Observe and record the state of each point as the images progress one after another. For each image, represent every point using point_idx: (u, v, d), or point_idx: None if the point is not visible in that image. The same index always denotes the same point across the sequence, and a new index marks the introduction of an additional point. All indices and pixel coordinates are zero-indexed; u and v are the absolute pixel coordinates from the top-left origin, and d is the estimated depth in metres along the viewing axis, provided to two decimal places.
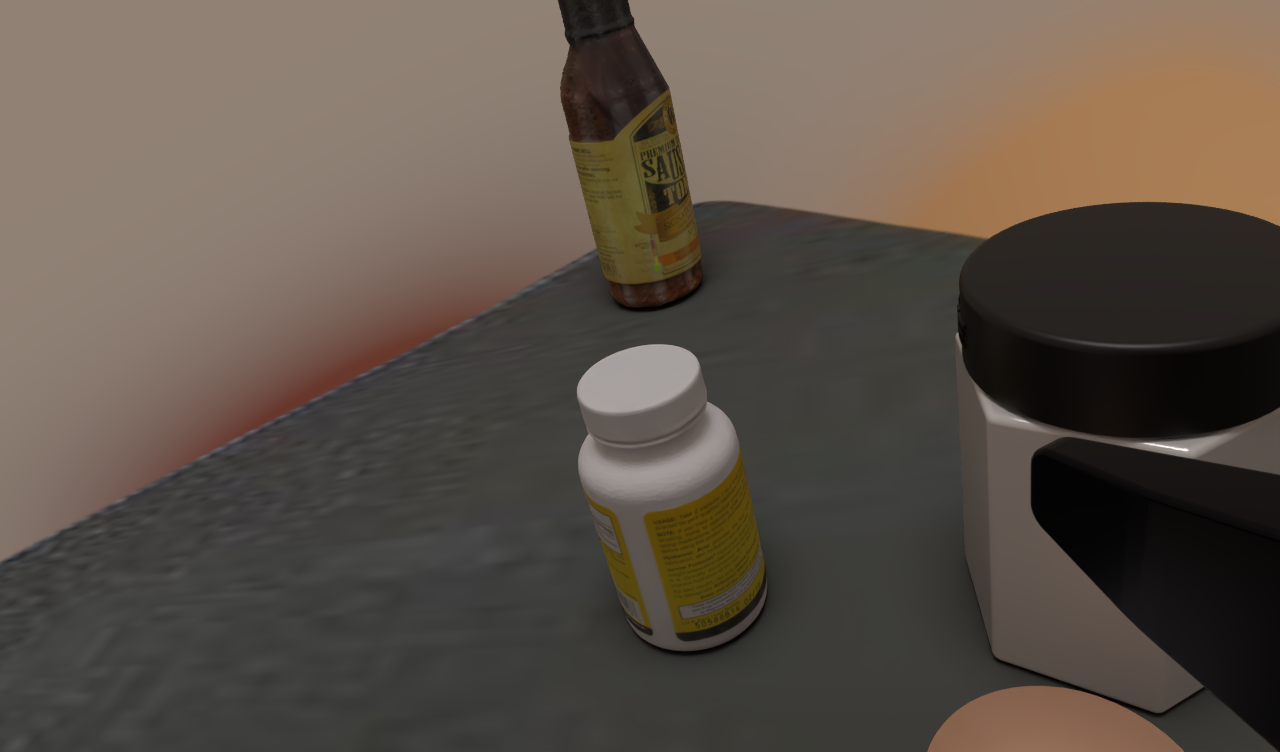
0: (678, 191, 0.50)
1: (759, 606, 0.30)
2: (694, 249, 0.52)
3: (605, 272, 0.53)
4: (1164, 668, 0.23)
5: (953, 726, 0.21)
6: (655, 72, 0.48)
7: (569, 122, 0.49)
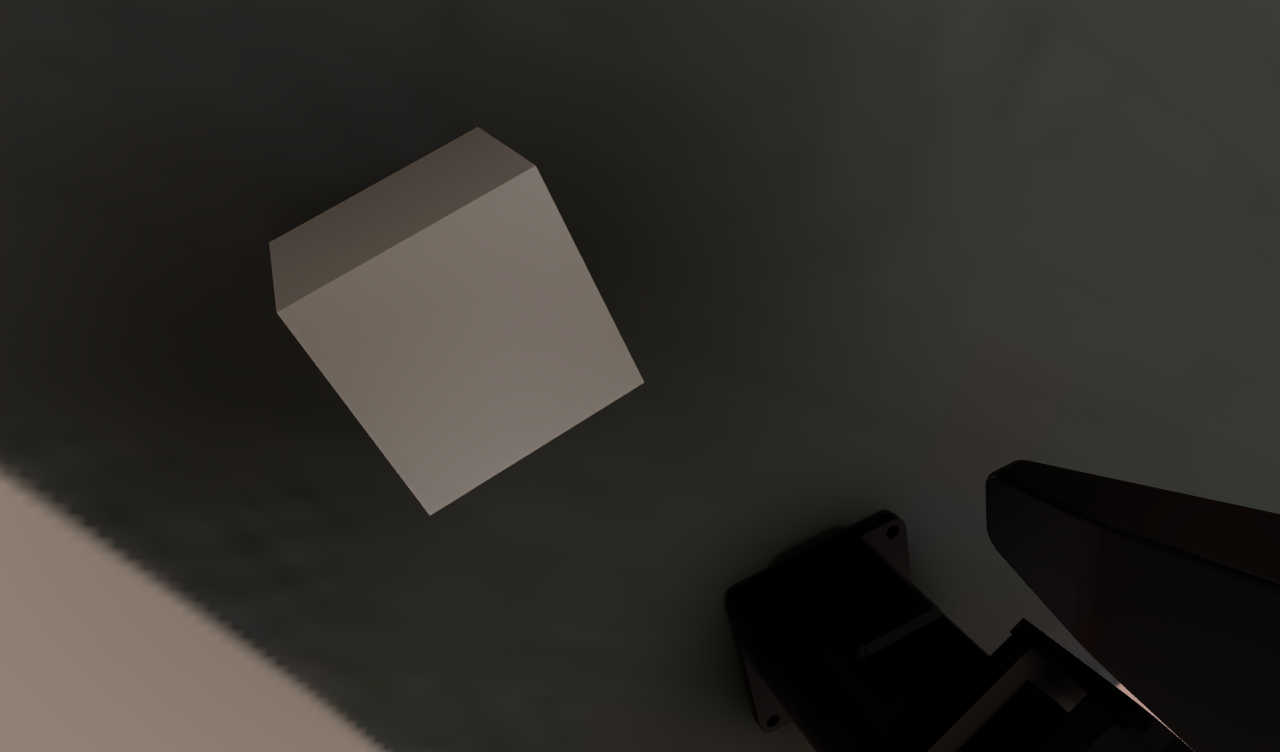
0: None
1: None
2: None
3: None
4: None
5: None
6: None
7: None
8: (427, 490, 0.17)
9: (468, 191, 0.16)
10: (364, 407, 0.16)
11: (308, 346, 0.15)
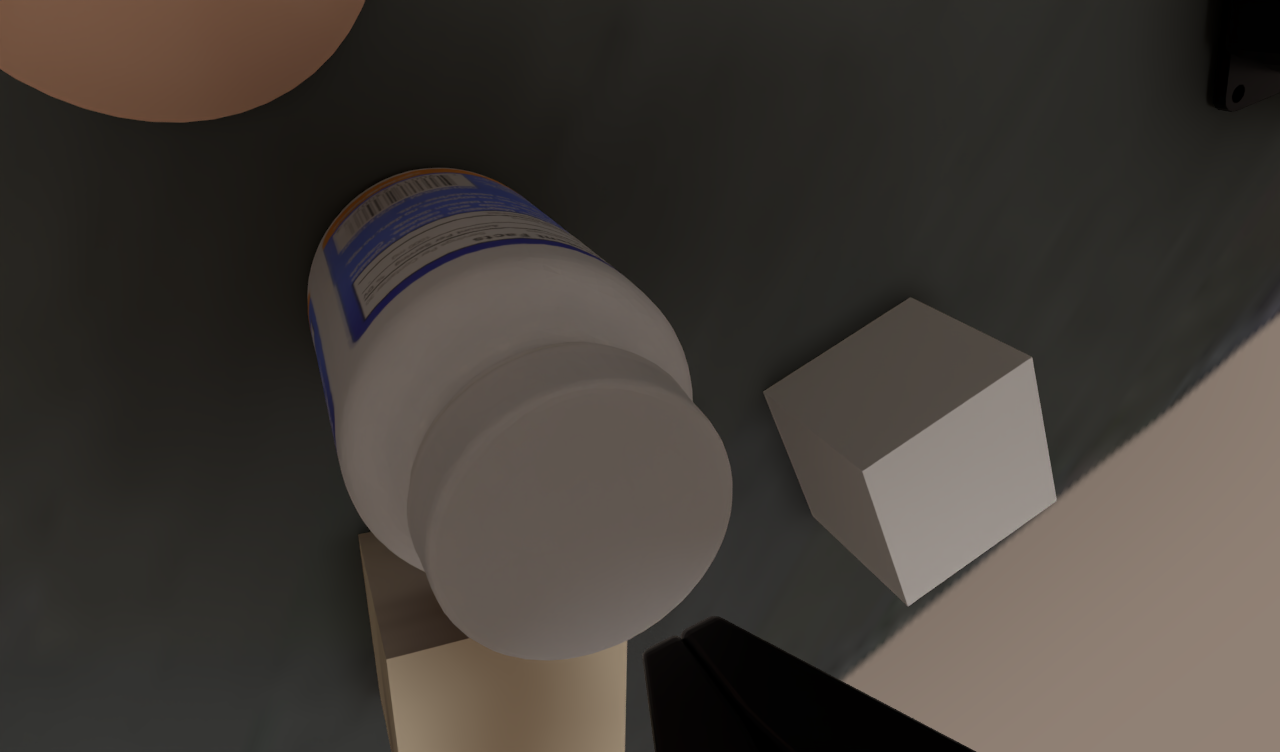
0: None
1: None
2: None
3: None
4: None
5: None
6: None
7: None
8: (1040, 505, 0.23)
9: (857, 492, 0.21)
10: (975, 551, 0.23)
11: (930, 586, 0.23)
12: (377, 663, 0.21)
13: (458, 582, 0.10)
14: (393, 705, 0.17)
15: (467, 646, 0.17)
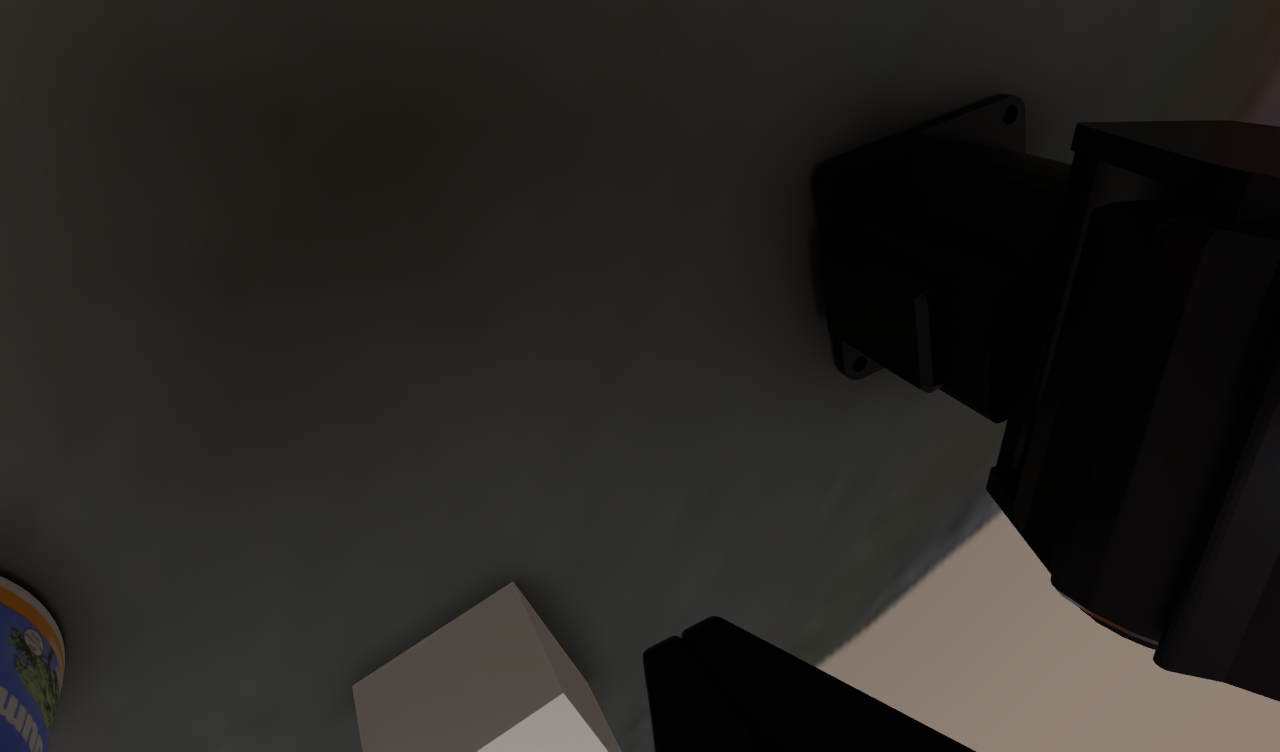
0: None
1: None
2: None
3: None
4: None
5: None
6: None
7: None
8: None
9: None
10: None
11: None
12: None
13: None
14: None
15: None
